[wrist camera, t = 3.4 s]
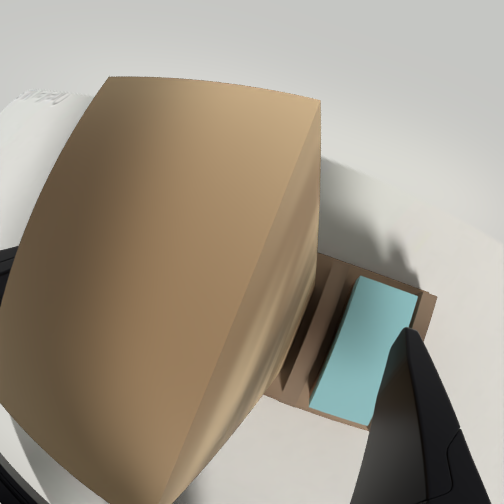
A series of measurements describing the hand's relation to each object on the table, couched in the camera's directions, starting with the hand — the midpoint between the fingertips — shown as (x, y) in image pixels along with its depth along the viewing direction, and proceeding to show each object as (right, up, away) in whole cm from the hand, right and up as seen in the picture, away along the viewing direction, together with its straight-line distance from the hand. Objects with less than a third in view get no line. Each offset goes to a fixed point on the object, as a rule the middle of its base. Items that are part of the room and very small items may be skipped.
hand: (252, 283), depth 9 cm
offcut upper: (+5, -4, +4) cm, 8 cm away
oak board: (+1, -2, +7) cm, 8 cm away
